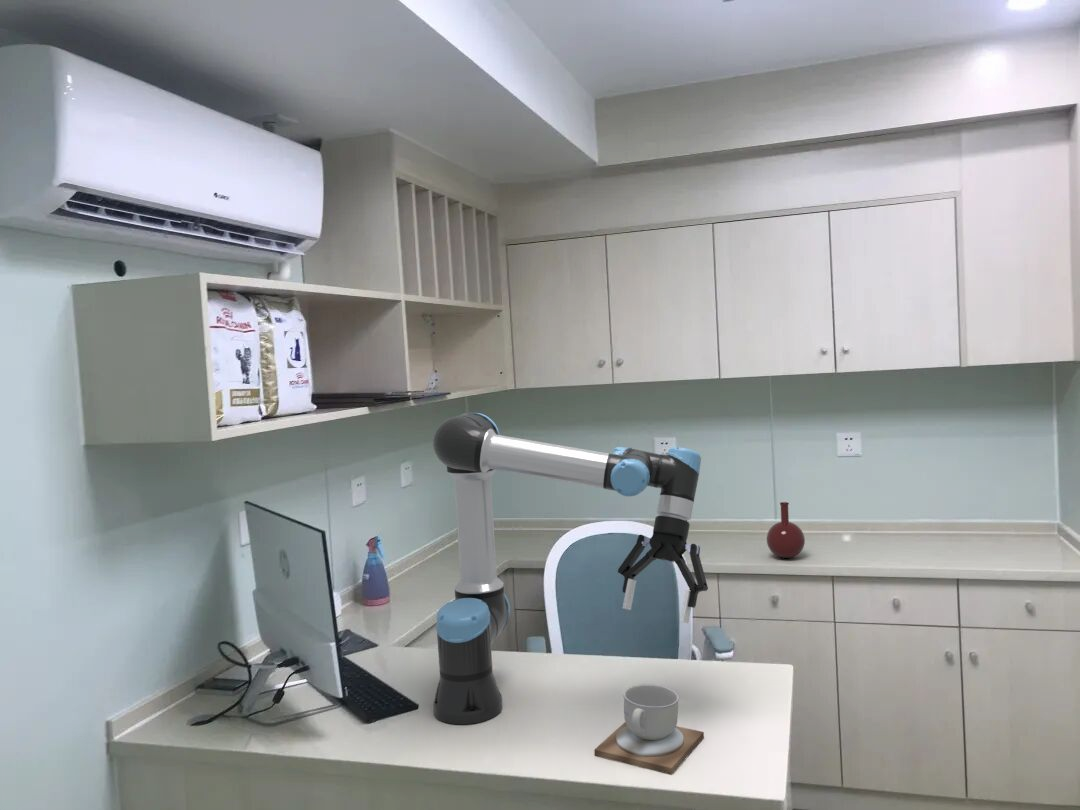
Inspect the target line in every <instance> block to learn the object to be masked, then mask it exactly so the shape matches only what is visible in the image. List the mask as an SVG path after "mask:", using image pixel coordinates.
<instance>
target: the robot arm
mask: <svg viewBox="0 0 1080 810" xmlns="http://www.w3.org/2000/svg"><path fill="white" fill-rule="evenodd" d="M499 430H500V429H499V428H498V426H497V424H496V423H495V422H494V421H493V419H492V418H490V417H489V416H487V415H485V414H483V413H479V412H465V413H461V414H459V415H457V416H453V417H449V418H447V419H445V420H444V421H443V422H441V423H440V424H439V425H438V426H437V428H436V430H435V432H434V435H433V439H432V448H433V451H434V454H435V455H436V457H437V459H438V460H439V462H441V463H442V464H443V465H444V466H446V472H447V475H449V476H450V477H451V478H452V479H453V480H454V481H453V482H454V496H455V497H454V498H455V513H456V525H457V526H456V528H457V546H458V547H457V548H458V562H459V577H460V578H459V579H460V580H459V581H458V582H457V583H456V585H455V586H454V599H453V600H452V601H449V602H445V604H443V605H442V606H441V607H440V608H439V609H438V611H437V613H436V623H435V629H436V635H437V639H436V640H437V652H438V654H437V655H438V666H439V667H438V668H439V680H438V684H437V688H436V692H435V696H434V700H433V714H434V717H435V718H436V719H437V720H439V721H441V722H444V723H446V724H454V725H470V724H478V723H482V722H485V721H487V720H490V719H493V718H495V717H496V716H498V715H499V714H500V713H501V712H502V710H503V697H502V693H501V692H500V691H499V686H498V683H497V681H496V679H495V676H494V672H493V655H492V645H493V644H494V642H495V641H496V639H497V638H498V637H499V636H500V635H501V633H502V632H503V631H504V630H505V628H506V626H507V625H508V621H509V619H510V614H511V605H510V601H509V599H508V597H507V595H506V594H505V589H504V588H505V586H504V584H505V583H504V582H503V581H502V580H501V579H500V578H499V577H498V576H497V575H498V574H497V573H498V572H497V559H496V558H497V555H496V542H495V541H496V540H495V539H496V538H495V526H494V525H495V524H494V507H493V505H494V504H493V492H492V489H493V488H492V476H493V475H494V474H495V473H496V472H497V471H499V472H500V471H501V472H504V473H505V472H506V473H511V474H512V473H513V474H517V475H522V476H523V475H524V476H528V477H535V478H541V479H547V480H552V481H558V482H565V483H569V484H570V483H571V484H577V485H580V486H587V487H591V488H592V487H594V488H599V489H603V490H604V489H605V490H608V491H615V492H617V494H619V495H621V496H623V497H635V496H638V495H639V494H641V493H643V492H644V491H645V490H646V488H647V487H650V488H656V489H660V493H659V498H658V504H657V508H656V513H657V514H658V515H657V516H655V520H654V525H653V529H652V535H651V537H648V536H646V535H643V534H639V535H638V536H637V539H636V543H635V544H634V546H633V548H632V549H631V550H630V552H629V553H628V554H627V556H626V557H625V559H624V560H623V562H622V563H621V564H620V566H619V567H618V569H617V573H618V574H620V575H621V576H622V577H623V578H624V580H623V584H622V593H624V598H623V603H622V609H624V610H628V611H632V607H633V606H632V605H633V601H634V595H635V589H636V585H637V580H635V578H636V577H637V576H638V575H639V574H640V573H642V571H643V570H645V569H646V568H647V567H648V566H649V565H651V563H652V562H654V561H656V560H660V561H667V562H670V563H675V564H676V566H677V567H678V569H679V571H680V573H681V575H682V577H683V579H684V580H685V581H684V582H685V583H686V585H687V587H688V590H685V594H684V599H683V604H682V609H681V610H682V611H681V616H680V622H681V623H683V624H684V623H685V624H689V623H690V616H691V611H692V608H693V609H695V608H696V605H697V600H698V595H699V593H700V592H707V591H708V589H709V587H708V583H707V579H706V575H705V571H704V569H703V568H704V567H703V565H702V560H701V557H700V552H701V548H700V547H701V546H700V545H698V544H696V543H691V544H688V543H687V540H688V536H689V535H688V534H689V531H690V525H691V524H690V522H689V521H690V520H692V514H693V508H694V502H695V497H696V492H697V486H698V482H699V478H700V477H699V476H700V470H701V463H702V457H701V454H700V453H699V452H698V451H696V450H693V449H690V448H686V447H679V446H678V447H677V446H672V447H670V448H669V449H668V452H667V453H666V454H658V453H655V452H650V451H644V450H640V449H635V448H633V447H625V446H624V447H623V446H617V447H614V450H613V452H612V453H609V452H602V451H595V450H590V449H585V448H580V447H572V446H566V445H561V444H560V445H559V444H555V443H551V442H550V443H549V442H542V441H538V440H532V439H524V438H519V437H512V436H507V435H501V434H500V431H499ZM647 546H650V549H649V550H648V551H647V552H646V553H645V555H643V557H641V558H640V559H639V557H640V556H641V555H642V553H643V551H644V550H645V548H646V547H647ZM686 551H687V553H688V554H689V556H690V560H691V564H692V568H693V572H694V576H695V578H694V576H693V575H692V573H691V570H690V568H689V567H688V565H687V563H686V560H685V558H684V556H683V554H685V552H686ZM638 559H639V560H638ZM636 561H637V562H636ZM695 579H696V580H695Z"/></svg>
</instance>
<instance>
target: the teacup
mask: <svg viewBox="0 0 1080 810" xmlns="http://www.w3.org/2000/svg"><path fill="white" fill-rule="evenodd" d="M679 701H680V696H679V694H678V693H677V691H675V690H673V689H672V688H669V687H666V686H663V685H658V684H652V683H651V684H650V683H649V684H647V683H646V684H644V683H643V684H637V685H632V686H629V687H628V688H626V689H625V690H624V692H623V715H624V716H623V718H624V722H625V723H626V725H627V727H628V728H629V729H630V730H631V731H632V732H633V733H634V734H635V735H636V736H638V737H640V738H642V739H646V740H659V739H662V738H665V737H666V736H667V735H669V734H670V733H672V732H673V731H674V729H675V728H676V726H677V725H678V718H679V717H678V716H679Z"/></svg>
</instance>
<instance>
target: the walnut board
mask: <svg viewBox="0 0 1080 810" xmlns="http://www.w3.org/2000/svg"><path fill="white" fill-rule="evenodd" d="M704 739H705V733H704V731H700V730H696V729H692V728H687V727H681V726H677V725H676V728H675V729H674V731H673V732H672V733H670V734H669V735H667V736H666V737H665V738H662V739H659V740H646V739H642V738H640V737H638V736H636V735H635V734H634V733H633V732H632V731H631V730H630V729H629V728H628V727H627V725H626V723H625V721H624V722H623V723H622V724H621V725H620V726H619V727H618V728H617V729H615V730H614V731H613V732H612V733H611V734H610V735H609V736H608V737H607V738H606V739H604V740H603V741H602V742H601V743H600V744H599V745H598V746H597V747H595V748H594V750H593V752H594V756H595V757H600V758H603V759H607V760H612V761H616V762H620V763H624V764H628V765H632V766H636V767H639V768H644V769H647V770H653V771H656V772H660V773H664V774H669V775H673V774H674V773H675V771H676V770H677V769H678V768H679V767H680V766H681V764H682V763H683V762H684V761H685V760H686V759H687V758H688V757H689V755H690V754H691V753H692V752H693V751H694V750H695V749H696V747H698V745H699V744H700V743H701V742H702V741H703V740H704ZM701 740H702V741H701ZM700 741H701V742H700ZM699 742H700V743H699ZM694 748H695V749H694ZM693 749H694V750H693ZM692 750H693V751H692ZM687 756H688V757H687ZM686 757H687V758H686ZM685 758H686V759H685Z"/></svg>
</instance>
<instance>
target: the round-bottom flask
mask: <svg viewBox="0 0 1080 810" xmlns="http://www.w3.org/2000/svg"><path fill="white" fill-rule="evenodd" d="M779 505H780V521H779V522H776V523H775V524H773V525H772V526H771V527H770V528H769V530H768V531H767V534H766V544H767V545H766V546H767V547H768V549H769V550H770V552H771V553H772V554H773V555H774V556H776V557H777V558H780V557H783V558H782V559H784V558H789V559H793V558H796V557H797V556H799V555H800V554H801V553H802V552H803V550H804V547H805V545H806V544H805V543H806V542H805V541H806V537H805V534H804V531H803V530H802V529H801V528H800V526H798V525H797V524H796V523H793V522H791V521H790V520H789V519H790V518H789V517H790V516H789V502H786V501H784V502H779ZM792 557H793V558H792Z"/></svg>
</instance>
